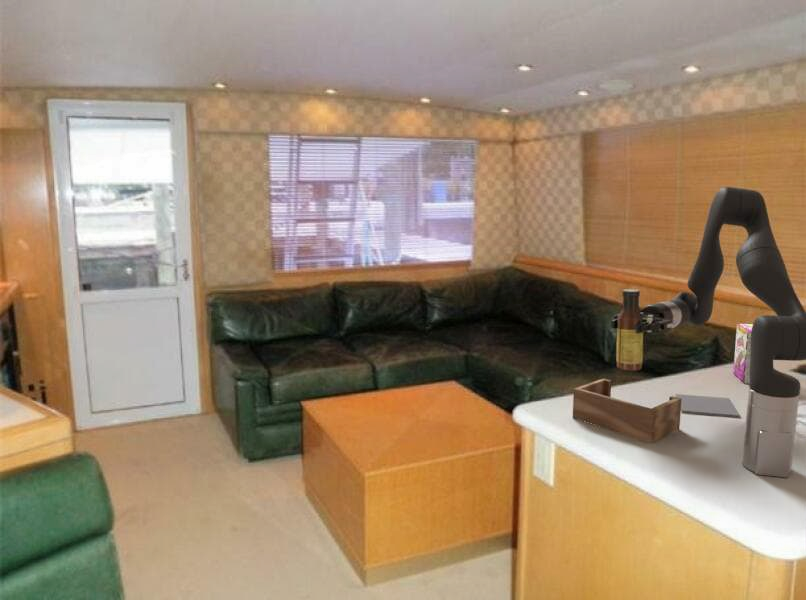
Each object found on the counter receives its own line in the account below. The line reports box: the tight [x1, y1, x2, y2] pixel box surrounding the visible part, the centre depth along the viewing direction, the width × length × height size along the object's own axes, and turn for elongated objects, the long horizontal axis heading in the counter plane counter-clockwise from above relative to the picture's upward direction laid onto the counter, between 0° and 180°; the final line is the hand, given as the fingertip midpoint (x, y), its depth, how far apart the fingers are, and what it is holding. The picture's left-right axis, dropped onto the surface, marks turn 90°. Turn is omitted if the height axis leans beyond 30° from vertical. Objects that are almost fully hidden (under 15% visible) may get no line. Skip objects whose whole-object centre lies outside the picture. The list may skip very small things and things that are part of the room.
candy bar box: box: [732, 323, 753, 385], centre depth 198 cm, size 11×5×16 cm, turn 168°
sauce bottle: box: [615, 288, 644, 372], centre depth 159 cm, size 7×6×20 cm
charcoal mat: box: [674, 393, 741, 419], centre depth 176 cm, size 14×14×1 cm
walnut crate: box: [572, 377, 682, 444], centre depth 163 cm, size 13×22×8 cm, turn 40°
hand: (625, 326), depth 158 cm, fingers closed on sauce bottle, 6 cm apart
